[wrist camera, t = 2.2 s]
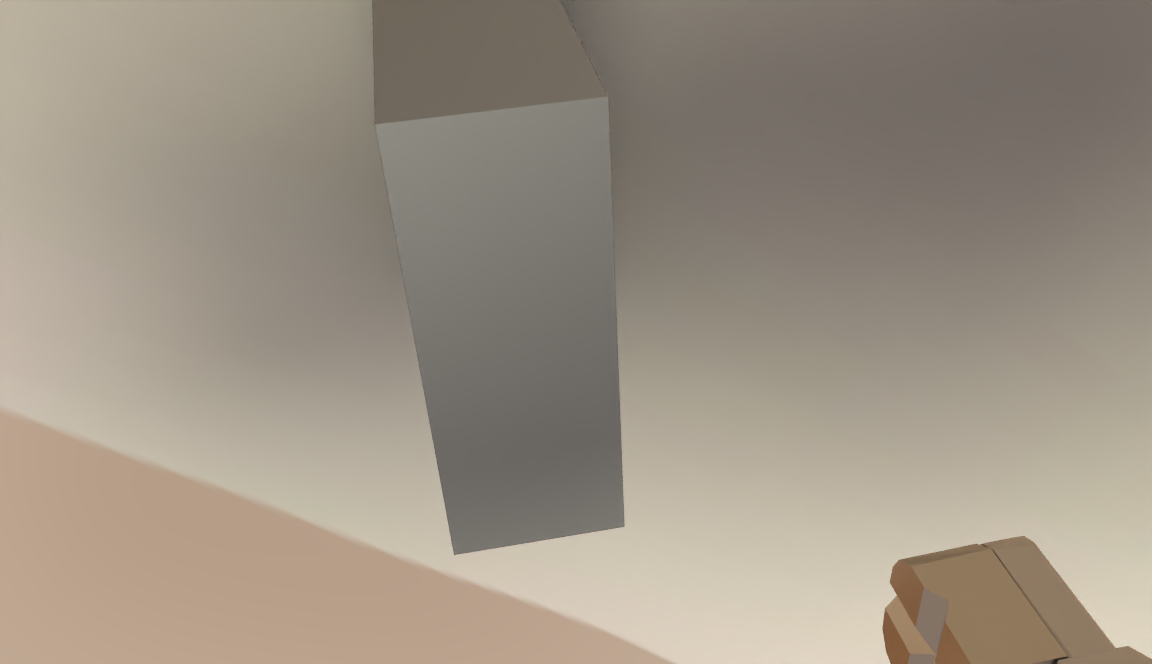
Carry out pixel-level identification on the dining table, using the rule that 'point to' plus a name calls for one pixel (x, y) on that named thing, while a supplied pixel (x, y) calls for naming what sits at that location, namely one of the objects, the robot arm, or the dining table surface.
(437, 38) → the grey u-shaped block
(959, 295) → the dining table surface
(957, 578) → the robot arm
